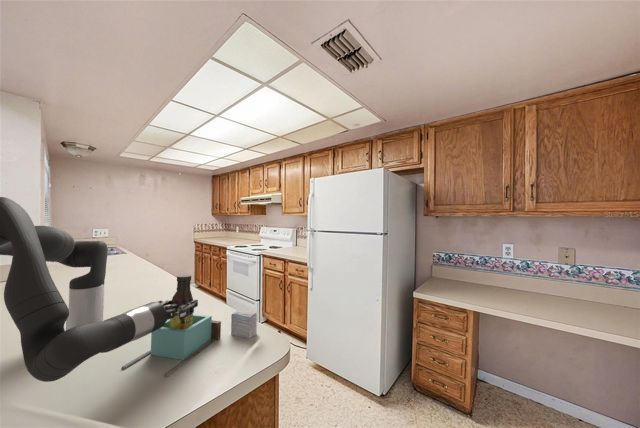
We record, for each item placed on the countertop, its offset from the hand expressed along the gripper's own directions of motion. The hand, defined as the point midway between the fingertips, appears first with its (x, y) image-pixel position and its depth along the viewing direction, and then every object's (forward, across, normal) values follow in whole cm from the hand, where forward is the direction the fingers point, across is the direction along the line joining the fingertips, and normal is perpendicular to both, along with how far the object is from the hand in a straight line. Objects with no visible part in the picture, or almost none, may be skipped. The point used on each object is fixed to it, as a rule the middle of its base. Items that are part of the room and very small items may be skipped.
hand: (187, 301), depth 81 cm
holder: (-1, 0, +14) cm, 14 cm away
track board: (-4, 0, +15) cm, 16 cm away
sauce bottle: (-2, 0, +11) cm, 11 cm away
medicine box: (+12, -14, +15) cm, 24 cm away
